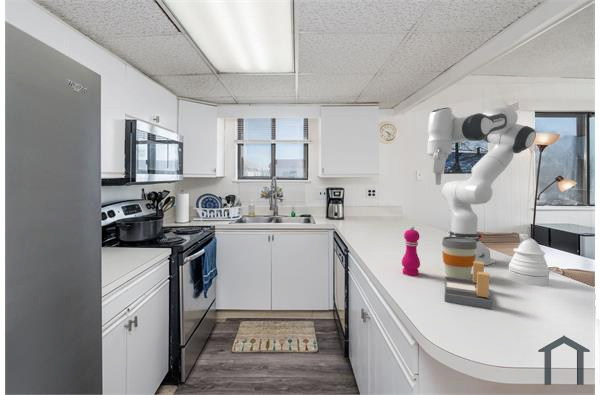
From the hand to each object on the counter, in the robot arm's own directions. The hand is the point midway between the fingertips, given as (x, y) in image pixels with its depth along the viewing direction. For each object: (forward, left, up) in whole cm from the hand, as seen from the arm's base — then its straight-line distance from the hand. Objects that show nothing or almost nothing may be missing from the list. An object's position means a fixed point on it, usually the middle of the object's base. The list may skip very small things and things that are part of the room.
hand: (438, 184), depth 122 cm
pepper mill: (+7, -6, -37) cm, 38 cm away
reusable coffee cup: (-10, +2, -37) cm, 39 cm away
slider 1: (-3, +17, -34) cm, 38 cm away
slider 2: (+7, +27, -34) cm, 44 cm away
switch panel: (+4, +19, -37) cm, 42 cm away
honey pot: (-32, +15, -37) cm, 51 cm away
